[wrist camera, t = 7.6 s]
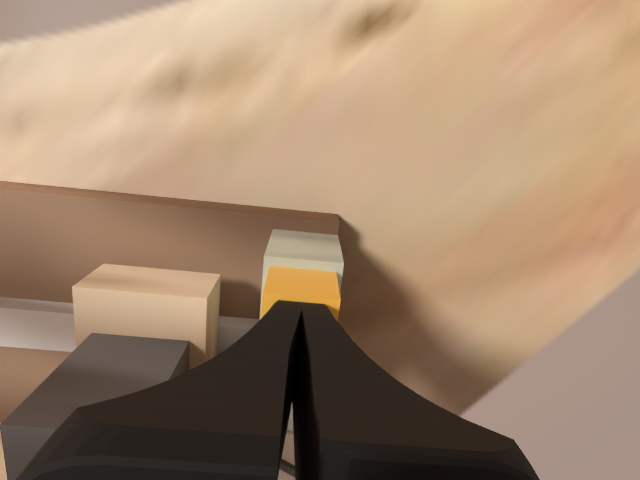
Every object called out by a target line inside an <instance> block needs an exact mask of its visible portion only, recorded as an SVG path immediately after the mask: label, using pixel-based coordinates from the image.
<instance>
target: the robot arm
mask: <svg viewBox="0 0 640 480" xmlns="http://www.w3.org/2000/svg"><path fill="white" fill-rule="evenodd" d="M291 405H292V408H293V435H294V460H295V480H539V478H538V476H537V475H536V473H535V471H534V469H533V468H532V466H531V464H530V463H529V461H528V460H527V459H526V457H525V456H524V454H523V452H522V451H521V449H520V448H519V447H518V445H517V444H516V443H515V441H514V440H513V439H511V438H508V437H506V436H503V435H501V434H499V433H496V432H494V431H491V430H489V429H486V428H484V427H482V426H479V425H477V424H474V423H472V422H469V421H467V420H465V419H463V418H461V417H459V416H457V415H455V414H453V413H451V412H449V411H447V410H445V409H443V408H441V407H439V406H437V405H435V404H434V403H432V402H430V401H428V400H427V399H425V398H423V397H421V396H420V395H418V394H417V393H415V392H414V391H412V390H411V389H409V388H407V387H406V386H404V385H403V384H401V383H400V382H399V381H397V380H396V379H394V378H393V377H392V376H390V375H389V374H388V373H387V372H386V371H384V370H383V369H382V368H381V367H379V366H378V365H377V364H376V363H375V362H373V361H372V360H371V359H370V358H369V357H368V356H367V355H366V354H365V353H364V352H363V351H362V350H361V349H360V348H359V347H358V346H357V345H356V344H355V343H354V342H353V341H352V339H351V338H350V337H349V336H348V335H347V333H346V332H345V331H344V330H343V328H342V327H341V326H340V324H339V323H338V322H337V320H336V319H335V317H334V316H333V315H332V313H331V312H330V310H329V309H328V307H327V306H326V305H325V304H320V303H307V302H296V301H285V300H278V301H276V302H275V303H274V304H273V305H272V307H271V308H270V309H269V310H268V312H267V313H266V314H265V315H264V316H263V317H262V318H261V319H260V320H259V321H258V322H257V323H256V324H255V325H254V326H253V327H252V328H251V329H250V330H249V331H248V332H247V333H246V334H244V335H243V336H242V337H241V338H240V339H238V340H237V341H236V342H235V343H234V344H232V345H231V346H230V347H229V348H227V349H226V350H224V351H223V352H221V353H220V354H218V355H217V356H215V357H213V358H212V359H210V360H208V361H207V362H205V363H203V364H201V365H199V366H197V367H195V368H193V369H191V370H189V371H187V372H185V373H183V374H181V375H179V376H177V377H174V378H172V379H170V380H167V381H165V382H162V383H160V384H157V385H154V386H151V387H149V388H146V389H143V390H140V391H137V392H134V393H131V394H128V395H124V396H120V397H117V398H113V399H109V400H105V401H101V402H98V403H94V404H90V405H86V406H82V407H77V408H76V409H75V410H74V411H73V412H72V413H71V414H70V416H69V417H68V418H67V419H66V420H65V421H64V422H63V423H62V424H61V425H60V426H59V427H58V428H57V429H56V430H55V431H54V433H53V434H52V435H51V436H50V437H49V439H48V440H47V441H46V442H45V443H44V445H43V446H42V447H41V448H40V450H39V451H38V452H37V453H36V455H35V456H34V457H33V458H32V460H31V461H30V462H29V463H28V465H27V466H26V467H25V468H24V470H23V471H22V472H21V473H20V475H19V476H18V477H17V478H16V480H278V475H279V469H280V464H281V459H282V453H283V448H284V443H285V437H286V432H287V427H288V422H289V416H290V411H291Z"/></svg>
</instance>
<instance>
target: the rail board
mask: <svg viewBox="0 0 640 480" xmlns="http://www.w3.org/2000/svg"><path fill="white" fill-rule="evenodd" d="M339 224H340V221H339V217H338V214H328V213H318V212H308V211H298V210H288V209H278V208H267V207H257V206H247V205H237V204H227V203H217V202H207V201H196V200H186V199H176V198H166V197H156V196H146V195H135V194H125V193H115V192H105V191H95V190H85V189H75V188H64V187H54V186H44V185H34V184H24V183H14V182H3V181H0V422H1V423H2V422H3V421H4V420H5V419H6V418H7V417H8V416H9V415H10V414H11V413H12V412H13V411H14V410H15V409H16V408H17V407H18V406H19V405H20V404H21V403H22V402H23V401H24V400H25V399H26V398H27V397H28V396H29V395H30V394H31V393H32V392H33V391H34V390H35V389H36V388H37V387H38V386H39V385H40V384H41V383H42V382H43V381H44V380H45V379H46V378H47V377H48V376H49V375H50V374H51V373H52V372H53V371H54V370H55V369H56V368H57V367H58V366H59V365H60V364H61V363H62V362H63V361H64V360H65V359H66V358H67V357H68V356H69V355H70V354H71V353H72V352H73V351H74V350H75V349H76V338H75V323H74V309H73V295H72V286H74V285H75V284H76V283H78V282H79V281H80V280H82V279H83V278H85V277H86V276H87V275H89V274H90V273H91V272H93V271H94V270H96V269H97V268H98V267H100V266H101V265H102V264H114V265H125V266H136V267H147V268H158V269H169V270H180V271H191V272H202V273H213V274H221V276H220V301H219V327H218V352H217V355H218V354H220V353H221V352H223V351H224V350H226V349H227V348H229V347H230V346H231V345H232V344H234V343H235V342H236V341H237V340H238V339H240V338H241V337H242V336H243V335H244V334H246V333H247V332H248V331H249V330H250V329H251V328H252V327H253V326H254V325H255V324H256V323H257V322H258V321H259V320H260V319H261V308H262V294H263V290H264V286H265V283H266V279H267V275H268V271H269V268H270V266H277V267H288V268H299V269H310V270H320V271H331V272H336V273H337V280H338V286H339V293H340V291H341V283H342V276H343V268H344V260H343V256H342V251H341V246H340V242H339V237H338V232H339ZM278 480H295V460H294V435H293V408H292V405H291V411H290V416H289V422H288V427H287V432H286V437H285V443H284V448H283V453H282V459H281V464H280V469H279V475H278Z"/></svg>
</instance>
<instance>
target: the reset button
mask: <svg viewBox="0 0 640 480" xmlns="http://www.w3.org/2000/svg"><path fill="white" fill-rule="evenodd" d="M278 300H285V301H296V302H307V303H320V304H325V305H326V306H327V307H328V309H329V310H330V312H331V313H332V315H333V316H334V317H335V319H336V320H337V322H338V317H339V309H340V302H341V299H340V293H339V286H338V280H337V273H336V272H331V271H320V270H310V269H299V268H288V267H277V266H270V268H269V271H268V275H267V279H266V283H265V286H264V290H263V294H262V308H261V318H262V317H263V316H264V315H265V314H266V313H267V312H268V310H269V309H270V308H271V307H272V305H273V304H274V303H275V302H276V301H278Z"/></svg>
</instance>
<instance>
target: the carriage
mask: <svg viewBox="0 0 640 480" xmlns="http://www.w3.org/2000/svg"><path fill="white" fill-rule="evenodd" d="M220 276H221V274H213V273H202V272H191V271H180V270H169V269H158V268H147V267H136V266H125V265H114V264H102V265H101V266H100V267H98V268H97V269H96V270H94V271H93V272H91V273H90V274H89V275H87V276H86V277H85V278H83V279H82V280H80V281H79V282H78V283H76V284H75V285H74V286H72V295H73V309H74V323H75V338H76V349H75V350H74V351H73V352H72V353H71V354H70V355H69V356H68V357H67V358H66V359H65V360H64V361H63V362H62V363H61V364H60V365H59V366H58V367H57V368H56V369H55V370H54V371H53V372H52V373H51V374H50V375H49V376H48V377H47V378H46V379H45V380H44V381H43V382H42V383H41V384H40V385H39V386H38V387H37V388H36V389H35V390H34V391H33V392H32V393H31V394H30V395H29V396H28V397H27V398H26V399H25V400H24V401H23V402H22V403H21V404H20V405H19V406H18V407H17V408H16V409H15V410H14V411H13V412H12V413H11V414H10V415H9V416H8V417H7V418H6V419H5V420H4V421H3V422H2V423H1V424H0V429H1V436H2V444H3V451H4V458H5V465H6V473H7V480H16V478H17V477H18V476H19V475H20V473H21V472H22V471H23V470H24V468H25V467H26V466H27V465H28V463H29V462H30V461H31V460H32V458H33V457H34V456H35V455H36V453H37V452H38V451H39V450H40V448H41V447H42V446H43V445H44V443H45V442H46V441H47V440H48V439H49V437H50V436H51V435H52V434H53V433H54V431H55V430H56V429H57V428H58V427H59V426H60V425H61V424H62V423H63V422H64V421H65V420H66V419H67V418H68V417H69V416H70V414H71V413H72V412H73V411H74V410H75V409H76V408H77V407H82V406H86V405H90V404H94V403H98V402H101V401H105V400H109V399H113V398H117V397H120V396H124V395H128V394H131V393H134V392H137V391H140V390H143V389H146V388H149V387H151V386H154V385H157V384H160V383H162V382H165V381H167V380H170V379H172V378H174V377H177V376H179V375H181V374H183V373H185V372H187V371H189V370H191V369H193V368H195V367H197V366H199V365H201V364H203V363H205V362H207V361H208V360H210V359H212V358H213V357H215V356H217V352H218V327H219V301H220Z"/></svg>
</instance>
